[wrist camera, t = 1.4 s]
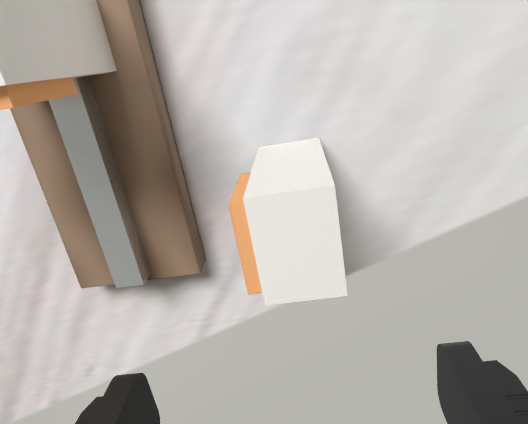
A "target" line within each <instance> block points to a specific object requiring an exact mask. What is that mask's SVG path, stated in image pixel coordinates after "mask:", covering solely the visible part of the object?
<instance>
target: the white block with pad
mask: <svg viewBox="0 0 528 424" xmlns="http://www.w3.org/2000/svg"><path fill="white" fill-rule="evenodd" d="M229 210H230V215H231V219H232V224H233V228H234V233H235V237H236V242H237V246H238V251H239V255H240V260H241V264H242V269H243V273H244V278H245V282H246V287H247V291H248V295H249V294H258V293H262V294H263V299H264V304H265V305H274V304H282V303H291V302H300V301H309V300H318V299H327V298H336V297H344V296H348V294H347V286H346V277H345V268H344V260H343V251H342V242H341V234H340V225H339V216H338V208H337V199H336V190H335V184H334V181H333V178H332V175H331V172H330V169H329V166H328V163H327V160H326V157H325V154H324V151H323V148H322V145H321V142H320V139H319V137H318V138H312V139H306V140H300V141H293V142H287V143H281V144H275V145H269V146H262V147H259V148H258V151H257V155H256V158H255V161H254V164H253V168H252V171H251V172H250V173H243V174H241V175H240V177H239V180H238V182H237V185H236V187H235V190H234V193H233V195H232V198H231V200H230V203H229Z"/></svg>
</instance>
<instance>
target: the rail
mask: <svg viewBox="0 0 528 424" xmlns="http://www.w3.org/2000/svg"><path fill="white" fill-rule="evenodd" d="M9 108H10V110H11V112H12V115H13V117H14V120H15V122H16V125H17V127H18V130H19V132H20V135H21V137H22V140H23V142H24V145H25V147H26V150H27V152H28V155H29V158H30V160H31V163H32V165H33V168H34V170H35V173H36V175H37V178H38V180H39V183H40V185H41V188H42V190H43V193H44V195H45V198H46V200H47V203H48V206H49V208H50V211H51V213H52V216H53V218H54V221H55V223H56V226H57V228H58V231H59V233H60V236H61V238H62V241H63V243H64V246H65V248H66V251H67V254H68V256H69V259H70V261H71V264H72V266H73V269H74V271H75V274H76V276H77V279H78V281H79V284H80V286H81V288H88V287H96V286H104V285H112V284H115V287H116V288H122V287H130V286H138V285H144V284H145V282H146V280H152V279H160V278H168V277H176V276H184V275H192V274H200V272H201V269H202V267H203V264H204V262H205V256H204V253H203V249H202V245H201V241H200V237H199V233H198V229H197V225H196V221H195V218H194V214H193V210H192V206H191V202H190V198H189V194H188V190H187V186H186V183H185V179H184V175H183V171H182V167H181V163H180V159H179V155H178V151H177V148H176V144H175V140H174V136H173V132H172V128H171V124H170V120H169V116H168V113H167V109H166V105H165V101H164V97H163V93H162V89H161V85H160V81H159V78H158V74H157V70H156V66H155V62H154V58H153V54H152V50H151V46H150V43H149V39H148V35H147V31H146V27H145V23H144V19H143V15H142V11H141V8H140V4H139V0H0V110H3V109H9Z"/></svg>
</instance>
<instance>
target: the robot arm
mask: <svg viewBox="0 0 528 424" xmlns="http://www.w3.org/2000/svg"><path fill="white" fill-rule="evenodd" d="M437 383H438V384H437V385H438V396H439V400H440V404H441V408H442V411H443V413H444V416H445V418H446V421H447V423H448V424H528V391H527V390H526V388H525V387H524V386H523V384H522V383H521V381H520V380H519V378H518V377H517V376H516V375H515V374H514V373H513V372H511V371H510V370H509V369H507V368H506V367H505V366H503V365H502V364H501V363H499V362H498V361H497V360H495V361H485V362H483V361H482V360H481V358H480V357H479V355H478V353H477V352H476V350H475V349H474V347H473V346H472V344H471V343H470V342H468V341H465V342H455V343H445V344H438V346H437ZM75 424H160V417H159V412H158V408H157V406H156V403H155V400H154V397H153V395H152V392H151V389H150V386H149V384H148V381H147V378H146V376H145V375H144V374H143V373H136V374H126V375H117V376H115V377H114V378H113V379H112V381H111V382H110V384H109V386H108V388H107V390H106V392H105V394H104V396H103V397H96V398H95V400H93V401H92V402H91V404H90V405H89V406H88V407H87V408H86V409H85V410H84V411H83V412H82V413H81V415H80V416H79V418H78V420H77V421H76V423H75Z"/></svg>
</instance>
